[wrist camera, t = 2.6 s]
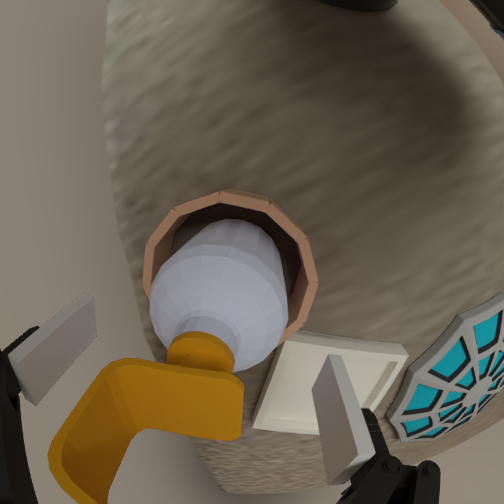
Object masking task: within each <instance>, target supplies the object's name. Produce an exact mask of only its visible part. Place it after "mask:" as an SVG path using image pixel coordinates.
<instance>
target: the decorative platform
mask: <svg viewBox="0 0 504 504" xmlns="http://www.w3.org/2000/svg"><path fill="white" fill-rule="evenodd" d="M503 387H504V293H503V292H500V293H499V294H498V295H496V296H495V297H493V298H492V299H490V300H489V301H487V302H485V303H483V304H482V305H480V306H478V307H475V308H473V309H471V310H468V311H465V312H463V313H460V314H457V316H456V317H455V319H454V320H453V321H452V323H451V324H450V325H449V326H448V328H447V329H446V330H445V331H444V333H443V334H442V335H441V336H440V337H439V338H438V339H437V341H436V342H435V343H434V344H433V345H432V346H431V347H430V348H429V349H428V350H427V351H426V352H425V353H424V354H422V355H421V356H420V357H419V358H418V359H417V360H416V361H414V362H413V363H412V364H411V365H410V366H409V367H408V370H407V373H406V376H405V379H404V381H403V384H402V386H401V389H400V391H399V393H398V395H397V397H396V398H395V400H394V402H393V404H392V405H391V407H390V408H389V410H388V411H387V413H386V414H387V417H388V419H389V421H390V422H391V423H392V424H393V426H394V427H395V428H396V430H397V433H398V437H399V439H400V442H409V441H422V440H429V441H433V440H435V439H437V438H439V437H441V436H443V435H444V434H446V433H448V432H450V431H452V430H454V429H455V428H457V427H459V426H461V425H463V424H465V423H467V422H469V421H470V420H472V419H473V418H474V417H475V416H476V415H477V414H478V413H479V412H480V411H481V410H482V409H483V408H484V407H485V406H486V405H487V404H488V403H489V402H490V401H491V400H492V399H493V398H494V397H495V395H496V394H497V393H498V392H499V391H500V390H501V389H502V388H503Z"/></svg>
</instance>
